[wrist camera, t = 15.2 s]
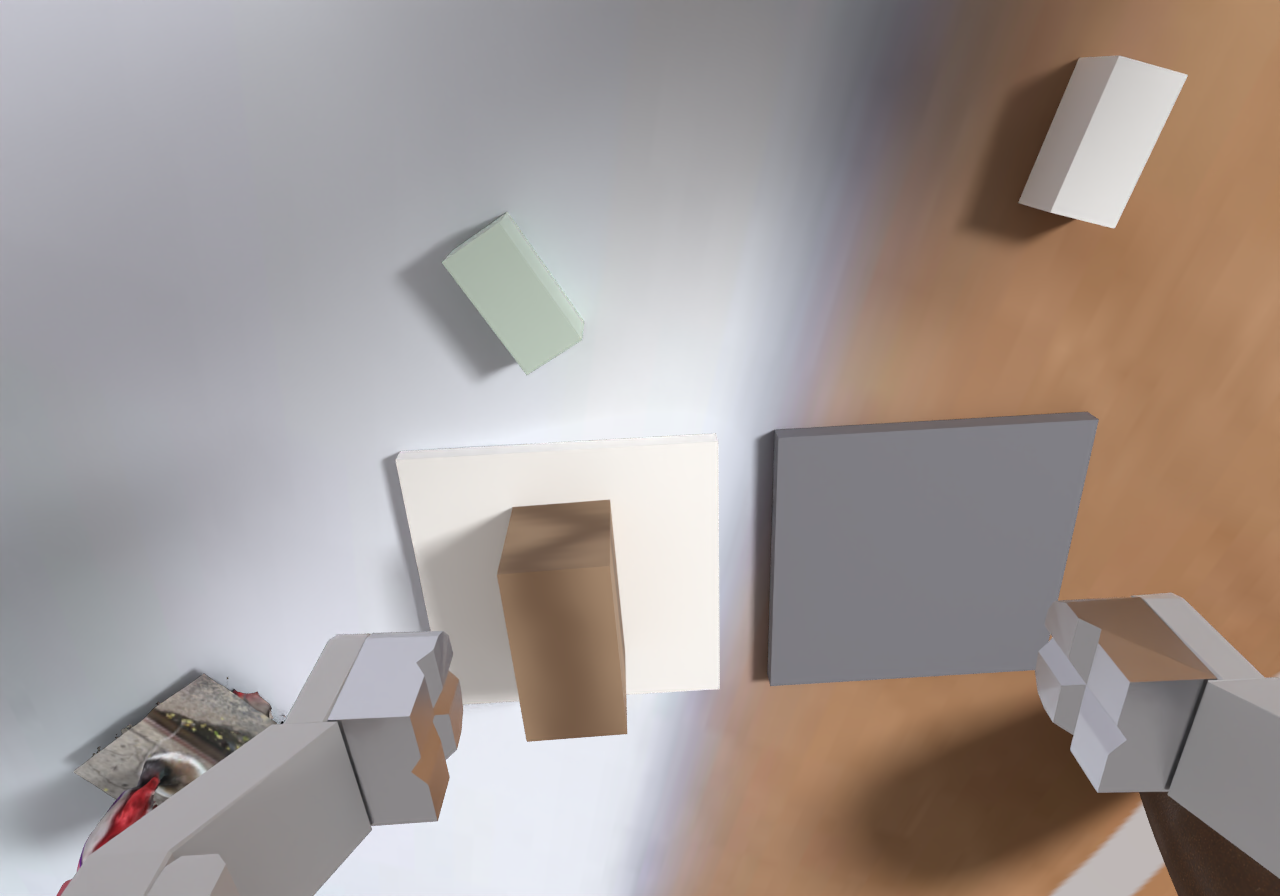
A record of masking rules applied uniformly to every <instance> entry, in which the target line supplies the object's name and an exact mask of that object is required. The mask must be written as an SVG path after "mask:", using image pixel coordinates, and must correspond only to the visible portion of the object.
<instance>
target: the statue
mask: <svg viewBox="0 0 1280 896" xmlns="http://www.w3.org/2000/svg"><path fill="white" fill-rule="evenodd" d="M227 679H228V677H227ZM156 704H157V705H158V706H156V707H155V708H154V709H152V711H151V712H150V713H149V714H148V715H147V716H146V717H145V718H144V719H143V720H142V721H141V722H139V723H138V724H137V725H135V726H134V727H132V725H131V724H129V725H128V726H127V727H129V729H127V727H126V728H124V729H122V730H121V733H122V735H121V736H120V737H115V738H116V740H115V741H113V742H112V743H111V744H109V745H108V746H107V747H105V748H104V749H103V750H101V751H100V747H98V748H97V749H98V752H97V754H95V753H94V754H93V756H92V757H91V759H89V760H88V761H87V762H85V763H84V764H82V765H81V766H80V767H78V768H77V769H76V770H75V771H73V772H74V773H75V774H77V775H79V776H80V777H82V778H84V779H85V780H87V781H88V782H90V783H92V784H93V785H95V786H96V787H98V788H99V789H101V790H102V791H104V792H105V793H107V794H108V795H110V796H111V797H113V798H115V799H116V801H115V802H114V803H113V805H112V806H111V807H110V809H109V810H108V812H107V813H106V814H105V815H104V817H103V818H102V819H101V820H100V822H99V823H98V824H97V826H96V827H95V829H94V830H93V831H92V833H91V834H90V836H89V837H88V839H87V841H86V843H85V845H84V847H83V850H82V853H81V857H80V860H79V864H78V867H77V871H78V870H79V868H80V867H81V866H82V864H83V863H84V861H85V860H86V858H87V857H88V856H89V855H90V854H92V853H93V852H95V851H96V850H97V849H99V848H100V847H102V846H103V845H104V844H106V843H107V842H109V841H110V840H111V839H113V838H114V837H115V836H117V835H118V834H120V833H121V832H122V831H124V830H125V829H127V828H128V827H129V826H131V825H132V824H134V823H135V822H136V821H138V820H139V819H141V818H142V817H143V816H145V815H146V814H148V813H149V812H150V811H152V810H153V809H155V808H156V807H157V806H159V805H160V804H162V803H163V802H164V801H166V800H167V799H169V798H170V797H171V796H173V795H174V794H176V793H177V792H178V791H180V790H181V789H183V788H184V787H185V786H187V785H188V784H189V783H191V782H192V781H194V780H195V779H196V778H198V777H199V776H201V775H202V774H203V773H205V772H206V771H208V770H209V769H210V768H212V767H213V766H215V765H216V764H217V763H219V762H220V761H222V760H223V759H224V758H226V757H227V756H229V755H230V754H231V753H233V752H234V751H236V750H237V749H238V748H240V747H241V746H243V745H244V744H245V743H247V742H248V741H250V740H251V739H252V738H254V737H255V736H256V735H258V734H259V733H261V732H262V731H263V730H265V729H266V728H268V727H269V726H270V725H272V724H277V723H276V722H275V721H273V720H272V719H273V716H272V714H271V709H272V708H271V706H270V704H269V703H268V702H266V701H265V700H264V699H263V698H261V697H260V696H259V694H258V692H255V693H251V694H246V693H241V692H237V691H236V690H234V691H233V692H231V691H230V690H228V689H227V688H225V687H224V686H222V685H220V684H218V683H217V682H215V681H214V680H213V679H211V678H210V677H208V676H207V675H205V674H203V675H201V676H200V677H199V678H197V679H196V680H194V681H193V682H192V683H190V684H189V685H187V686H186V687H184V688H183V689H181V690H180V691H178V692H177V693H175V694H174V695H172V696H171V697H169V698H168V699H167V700H165V701H164V702H162V703H160V702H157V703H156ZM284 717H285V715H284ZM116 735H117V734H116ZM72 879H73V878H72ZM72 879H71V880H72ZM71 880H68V881H66V882H65V883H64V884H63V885H62V887H61V889H60V890H59V892H58V894H57V896H61V894H62V893H63V891H64V890H65V889H66V887H67V886H68V884H69V883H70V881H71Z"/></svg>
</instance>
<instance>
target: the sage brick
mask: <svg viewBox="0 0 1280 896" xmlns="http://www.w3.org/2000/svg"><path fill="white" fill-rule="evenodd" d="M442 264H443V265H444V267H445V268H446V269H447V270H448V272H449V273H450V274H451V276H452V277H453V278H454V280H455V281H456V282H457V284H458V285H459V286H460V288H461V289H462V290H463V292H464V293H465V294H466V296H467V297H468V298H469V300H470V301H471V302H472V304H473V305H474V306H475V307H476V309H477V310H478V311H479V313H480V314H481V315H482V317H483V318H484V319H485V321H486V322H487V323H488V325H489V326H490V327H491V329H492V330H493V331H494V333H495V334H496V335H497V337H498V338H499V339H500V340H501V342H502V343H503V344H504V346H505V347H506V348H507V350H508V351H509V352H510V354H511V355H512V356H513V358H514V359H515V360H516V362H517V363H518V364H519V366H520V367H521V368H522V370H523V371H524V372H525V374H526V375H528V374H530V373H531V372H533V371H534V370H536V369H538V368H539V367H541V366H542V365H544V364H545V363H547V362H549V361H550V360H552V359H553V358H555V357H556V356H558V355H559V354H561V353H563V352H564V351H566V350H567V349H569V348H570V347H572V346H574V345H575V344H577V343H578V342H580V341H581V340H582V337H583V328H584V321H583V320H582V318H581V317H580V315H579V314H578V312H577V311H576V309H575V308H574V307H573V305H572V304H571V302H570V301H569V299H568V298H567V297H566V295H565V294H564V292H563V291H562V289H561V288H560V287H559V285H558V284H557V282H556V281H555V279H554V278H553V276H552V275H551V274H550V272H549V271H548V269H547V268H546V266H545V265H544V264H543V262H542V261H541V259H540V258H539V256H538V255H537V253H536V252H535V251H534V249H533V248H532V246H531V245H530V243H529V242H528V241H527V239H526V238H525V236H524V235H523V233H522V232H521V231H520V229H519V228H518V226H517V225H516V223H515V222H514V220H513V219H512V218H511V216H510V215H509V213H508V212H506V213H505V214H504V215H502V216H501V217H499V218H498V219H496V220H495V221H494V222H492V223H491V224H489V225H488V226H486V227H485V228H484V229H482V230H481V231H479V232H478V233H476V234H475V235H474V236H472V237H471V238H469V239H468V240H466V241H465V242H464V243H462V244H461V245H459V246H458V247H456V248H455V249H454V250H453V251H452V252H451V253H450V254H449V255H448V256H447V257H446V258H445V259H444V260H443V262H442Z"/></svg>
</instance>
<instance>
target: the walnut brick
mask: <svg viewBox="0 0 1280 896" xmlns="http://www.w3.org/2000/svg"><path fill="white" fill-rule="evenodd" d="M497 579H498V584H499V590H500V596H501V601H502V607H503V612H504V618H505V623H506V629H507V634H508V640H509V646H510V651H511V657H512V662H513V668H514V673H515V679H516V684H517V690H518V695H519V701H520V707H521V712H522V718H523V723H524V729H525V734H526V740H527V742H529V741H542V740H555V739H568V738H581V737H594V736H607V735H620V734H627V707H626V664H625V645H624V635H623V625H622V615H621V605H620V595H619V585H618V575H617V565H616V554H615V544H614V534H613V524H612V514H611V504H610V500H597V501H584V502H571V503H558V504H545V505H532V506H519V507H513V508H512V512H511V516H510V520H509V525H508V529H507V533H506V537H505V542H504V546H503V550H502V554H501V559H500V563H499V567H498V571H497Z"/></svg>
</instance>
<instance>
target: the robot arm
mask: <svg viewBox="0 0 1280 896" xmlns="http://www.w3.org/2000/svg"><path fill="white" fill-rule="evenodd" d="M1044 625H1045V627H1046V628H1047V630H1048V631H1049V633H1050V634H1051V635H1052V637H1053V638H1052V639H1051V640H1050V641H1049V642H1048V643H1047V644H1046V645H1045V646H1044V647H1042V648H1041V649H1040V650H1039V651H1038V657H1037V663H1036V669H1035V674H1036V682H1037V690H1038V694H1039V696H1040V699H1041V701H1042V704H1043V707H1044V709H1045V710H1046V712H1047V714H1048V715H1049V717H1050V718H1051V720H1052V722H1053V723H1055V724H1056V725H1058V726H1059V727H1061V728H1063V729H1064V730H1066V731H1067V732H1069V733H1070V734H1072V735H1073V739H1072V744H1071V748H1070V750H1071V752H1072V754H1073V755H1074V757H1075V758H1076V760H1077V761H1078V763H1079V765H1080V766H1081V768H1082V769H1083V771H1084V772H1085V774H1086V776H1087V777H1088V779H1089V780H1090V782H1091V783H1092V785H1093V786H1094V788H1095V790H1096V791H1097V793H1108V792H1168V794H1167V795H1168V796H1170V797H1171V798H1172V799H1174V800H1175V801H1176V802H1178V803H1179V804H1180V805H1182V806H1183V807H1184V808H1186V809H1187V810H1188V811H1190V812H1191V813H1192V814H1194V815H1195V816H1196V817H1198V818H1199V819H1200V820H1202V821H1203V822H1204V823H1206V824H1207V825H1208V826H1210V827H1211V828H1212V829H1214V830H1215V831H1216V832H1218V833H1219V834H1220V835H1222V836H1223V837H1224V838H1226V839H1227V840H1229V841H1230V842H1231V843H1233V844H1234V845H1235V846H1237V847H1238V848H1239V849H1241V850H1242V851H1243V852H1245V853H1246V854H1247V855H1249V856H1250V857H1251V858H1253V859H1254V860H1255V861H1257V862H1258V863H1259V864H1261V865H1262V866H1263V867H1265V868H1266V869H1267V870H1269V871H1270V872H1271V873H1273V874H1274V875H1275V876H1277V877H1278V878H1279V879H1280V678H1278V677H1275V678H1265V677H1264V676H1263V675H1262V674H1260V673H1259V672H1258V671H1257V670H1256V669H1255V668H1254V667H1253V666H1252V665H1251V664H1250V663H1249V662H1248V661H1247V660H1246V659H1245V658H1244V657H1243V656H1242V655H1241V654H1240V653H1239V652H1238V651H1237V650H1236V649H1235V648H1234V647H1233V646H1232V645H1231V644H1230V643H1229V642H1228V641H1227V640H1226V639H1225V638H1223V637H1222V636H1221V635H1220V634H1219V633H1218V632H1217V631H1216V630H1215V629H1214V628H1213V627H1212V626H1211V625H1210V624H1209V623H1208V622H1207V621H1206V620H1205V619H1204V618H1203V617H1202V616H1201V615H1200V614H1199V613H1198V612H1197V611H1196V610H1195V609H1194V608H1193V607H1192V606H1191V605H1190V604H1189V603H1188V602H1187V601H1185V600H1184V599H1183V598H1182V597H1180V596H1177V595H1175V594H1173V593H1161V594H1147V595H1134V596H1131V597H1116V598H1098V599H1080V600H1062V601H1054V602H1053V604H1052V605H1051V606H1050V608H1049V609H1048V612H1047V616H1046V620H1045V624H1044ZM452 657H453V651H452V647H451V643H450V639H449V635H448V634H446V633H445V632H444V631H425V632H388V633H372V634H339V635H336V636H334V637H333V638H331V639H330V640H329V641H328V642H327V644H326V646H325V648H324V649H323V651H322V653H321V655H320V657H319V659H318V660H317V662H316V664H315V666H314V668H313V670H312V671H311V673H310V675H309V677H308V679H307V681H306V682H305V684H304V686H303V688H302V690H301V692H300V694H299V695H298V697H297V699H296V701H295V703H294V705H293V706H292V708H291V710H290V712H289V714H288V716H287V717H286V719H285V721H284V723H283V724H272V725H270V726H269V727H268V728H266V729H265V730H263V731H262V732H261V733H259V734H258V735H256V736H255V737H254V738H252V739H251V740H250V741H248V742H247V743H245V744H244V745H243V746H241V747H240V748H238V749H237V750H236V751H234V752H233V753H231V754H230V755H229V756H227V757H226V758H224V759H223V760H222V761H220V762H219V763H217V764H216V765H215V766H213V767H212V768H210V769H209V770H208V771H206V772H205V773H203V774H202V775H201V776H199V777H198V778H196V779H195V780H194V781H192V782H191V783H189V784H188V785H187V786H185V787H184V788H183V789H181V790H180V791H178V792H177V793H176V794H174V795H173V796H171V797H170V798H169V799H167V800H166V801H164V802H163V803H162V804H160V805H159V806H157V807H156V808H155V809H153V810H152V811H150V812H149V813H148V814H146V815H145V816H143V817H142V818H141V819H139V820H138V821H136V822H135V823H134V824H132V825H131V826H129V827H128V828H127V829H125V830H124V831H122V832H121V833H120V834H118V835H117V836H115V837H114V838H113V839H111V840H110V841H109V842H107V843H106V844H104V845H103V846H102V847H100V848H99V849H97V850H96V851H95V852H93V853H92V854H90V855H89V856H88V857H87V858H86V860H85V861H84V863H83V864H82V866H81V867H80V868H79V870H78V871H77V873H76V874H75V876H74V877H73V879H72V880H71V881H70V883H69V884H68V886H67V887H66V889H65V890H64V891H63V893H62V894H61V896H314V894H315V893H316V892H317V891H318V890H319V889H320V888H321V887H322V885H323V884H324V883H325V882H326V881H327V880H328V879H329V878H330V876H331V875H332V874H333V873H334V872H335V871H336V870H337V869H338V867H339V866H340V865H341V864H342V863H343V862H344V861H345V860H346V858H347V857H348V856H349V855H350V854H351V853H352V852H353V851H354V849H355V848H356V847H357V846H358V845H359V844H360V843H361V842H362V840H363V839H364V838H365V837H366V836H367V835H368V834H369V833H370V832H371V830H372V828H371V826H378V825H392V824H405V823H419V822H433V821H438V818H439V814H440V811H441V807H442V803H443V800H444V796H445V792H446V789H447V785H448V781H449V773H448V769H447V764H446V759H447V758H448V757H449V756H451V755H452V754H453V753H454V752H455V751H456V750H457V747H458V743H459V739H460V735H461V729H462V716H463V703H462V692H461V687H460V682H459V679H458V678H457V677H456V676H455V675H454V674H452V673H451V672H450V671H449V667H450V664H451V660H452Z"/></svg>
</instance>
